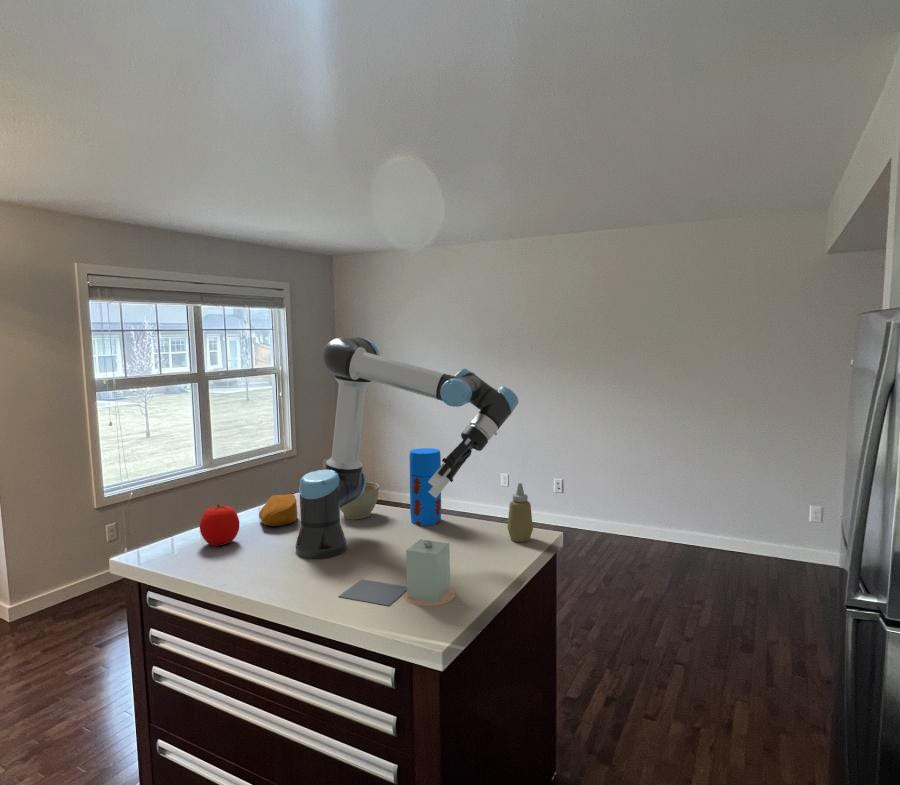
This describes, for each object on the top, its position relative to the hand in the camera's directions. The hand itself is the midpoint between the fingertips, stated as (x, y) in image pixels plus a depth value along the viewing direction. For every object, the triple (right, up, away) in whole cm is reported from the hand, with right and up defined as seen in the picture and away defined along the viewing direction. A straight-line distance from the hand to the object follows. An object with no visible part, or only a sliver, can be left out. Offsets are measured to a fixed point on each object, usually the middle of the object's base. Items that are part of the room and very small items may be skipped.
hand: (431, 490), depth 161 cm
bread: (-56, -19, +45) cm, 74 cm away
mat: (-14, -23, -15) cm, 31 cm away
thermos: (-3, -18, +44) cm, 48 cm away
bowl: (0, -23, -17) cm, 29 cm away
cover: (0, -23, -17) cm, 28 cm away
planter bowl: (-29, -18, +51) cm, 61 cm away
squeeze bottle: (+27, -20, +24) cm, 41 cm away
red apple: (-67, -21, +23) cm, 74 cm away
